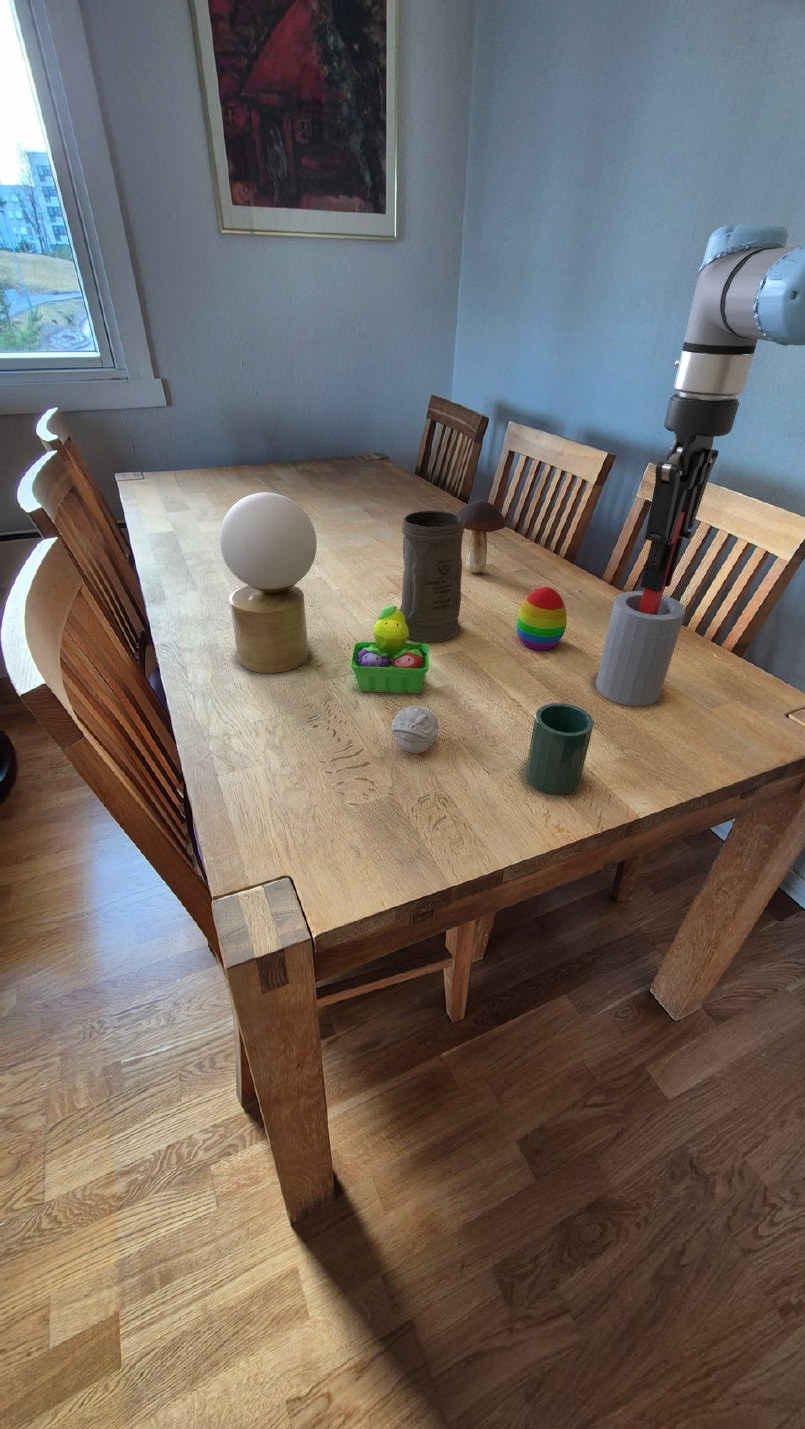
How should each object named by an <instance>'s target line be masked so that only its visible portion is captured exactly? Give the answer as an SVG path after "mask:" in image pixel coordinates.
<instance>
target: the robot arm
mask: <svg viewBox="0 0 805 1429" xmlns="http://www.w3.org/2000/svg"><path fill="white" fill-rule="evenodd" d="M788 235H789V234H788V229H787V228H786V227H785V226H783V225H777V224H760V223H759V224H755V223H754V224H737V225H724V226H721V227H718V228H717V229H715V230H714V231H713V233H711V235H710V237H709V239H708V242H707V245H706V248H705V253H704V256H703V260H702V264H701V265H700V267H699V269H698V272H697V281H696V285H695V289H694V294H693V297H692V298H693V299H692V303H691V308H690V313H689V316H688V321H687V326H686V331H685V335H684V339H683V344H682V349H681V353H680V357H679V358H677V359H676V361H675V363H674V366H675V368H676V369H677V370H676V373H675V378H674V382H673V388H674V390H675V391H677V393H674V394H672V396H671V397H670V398H669V402H668V405H667V410H666V415H665V419H664V423H663V425H664V428H665V430H667V431H669V432H672V433H674V435H675V438H674V439H673V441H672V444H671V447H670V448H669V450H668V453H667V455H666V461H658V462H657V464H656V465H655V476H654V478H655V483H654V487H653V493H652V498H651V502H650V503H651V504H650V508H649V509H650V510H649V513H648V514H649V515H648V518H647V520H648V521H647V525H646V529H645V535H644V540H646V541H651V542H650V546H649V550H648V554H647V558H646V562H645V566H644V569H643V574H642V577H641V582H640V588H643V589H644V588H646V589H649V590H653V591H656V592H661V591H662V588H663V584H664V580H665V577H666V573H667V569H668V565H669V562H670V558H671V554H672V551H673V547H674V544H673V543H671V542H672V539H673V536H674V533H675V529H676V526H677V523H678V520H679V516H680V513H681V512H685V514H684V518H683V521H682V525H681V528H680V532H679V536H678V539H677V543H676V547H675V550H674V554H673V558H672V561H671V565H670V569H669V572H668V576H667V580H666V583H665V587H666V588H669V587H670V586H671V584H672V581H673V576H674V572H675V569H676V565H677V563H678V562H677V561H678V558H679V555H680V552H681V548H682V544H683V541H684V539H691V537H692V535H693V532H692V531H688V530H692V529H693V527H694V524H695V521H696V518H697V515H698V511H699V508H700V506H701V502H702V500H703V496H704V494H705V491H706V488H707V485H708V482H709V478H710V475H711V473H712V469H713V467H714V465H715V463H716V461H717V458H718V456H719V450H718V449H713V445H714V438H715V437H723V436H726V435H728V434H730V433H731V432H732V430H733V426H734V423H735V419H736V416H737V413H738V409H739V406H740V402H739V399H738V398H737V396H739V395H741V394H742V393H744V390H745V387H746V384H747V380H748V377H749V373H750V370H751V366H752V363H753V359H754V355H755V354H754V353H755V352H756V347H757V344H758V340H762V341H766V342H772V343H773V342H774V343H775V344H777V345H779V346H784V347H787V346H797V347H798V346H799V347H800V346H805V245H798V246H788V247H786V246H787V241H788ZM683 538H684V539H683Z"/></svg>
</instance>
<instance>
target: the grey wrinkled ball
mask: <svg viewBox="0 0 805 1429" xmlns="http://www.w3.org/2000/svg"><path fill="white" fill-rule="evenodd" d="M390 727H391V728H390V729H391V733H392V734H393V735H394V737H395V741H396V742H397V743H398V745H399V746H400V747H401V748H402V749H403V750H404V751H406V752H408V753H411V754H420V753H423V752H425V751H427V750H428V749H430V747H431V746H432V745H433V744H434V742H435V741H436V739H437V738H438V737H439V722H438V719H437V716H435V714H434V713H433V712H432V711H431V710H430V709H428V708H427V707H424V706H419V705H418V706H415V705H409V706H408V707H404V708H403V709H400V710H399V711H398V712H397V714H396V715H395V717H394V718H393V720H392V723H391V726H390Z"/></svg>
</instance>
